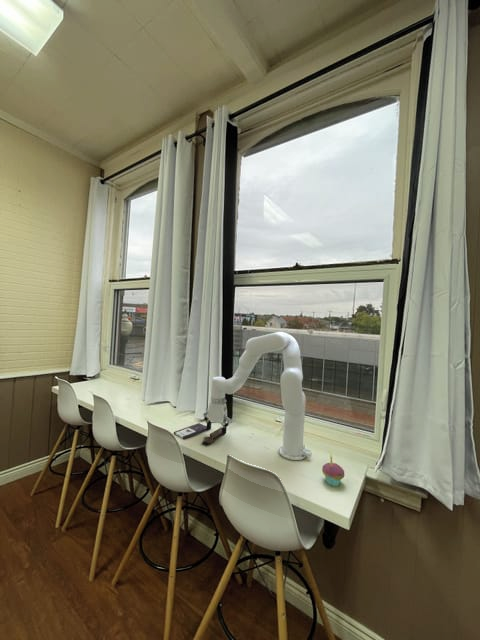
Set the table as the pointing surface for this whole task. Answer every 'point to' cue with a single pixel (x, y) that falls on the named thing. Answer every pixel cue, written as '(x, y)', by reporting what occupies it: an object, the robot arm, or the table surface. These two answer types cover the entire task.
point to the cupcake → (333, 473)
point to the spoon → (212, 436)
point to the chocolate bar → (191, 430)
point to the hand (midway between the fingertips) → (216, 432)
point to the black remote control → (212, 441)
